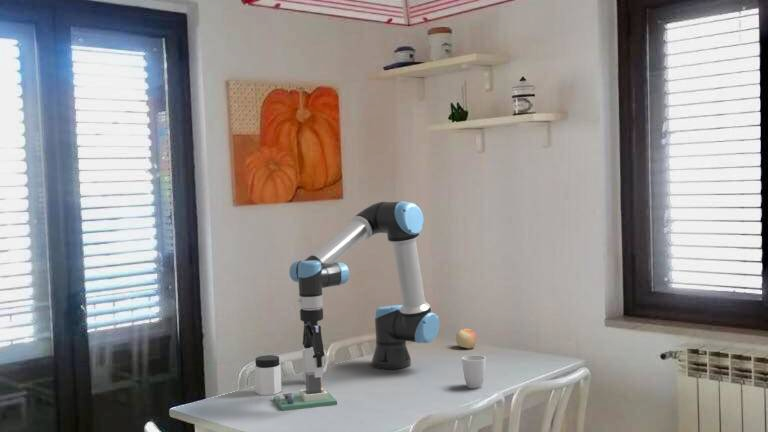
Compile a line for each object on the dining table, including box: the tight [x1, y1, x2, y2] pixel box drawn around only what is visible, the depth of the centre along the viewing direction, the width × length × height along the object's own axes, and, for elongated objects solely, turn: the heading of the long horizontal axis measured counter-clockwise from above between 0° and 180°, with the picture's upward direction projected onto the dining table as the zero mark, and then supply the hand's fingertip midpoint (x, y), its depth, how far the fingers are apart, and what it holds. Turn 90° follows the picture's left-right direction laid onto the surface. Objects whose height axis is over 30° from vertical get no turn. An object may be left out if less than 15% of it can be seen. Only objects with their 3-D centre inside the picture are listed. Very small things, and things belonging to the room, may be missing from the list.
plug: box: [305, 372, 323, 395], centre depth 268 cm, size 5×4×8 cm
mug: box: [302, 347, 329, 384], centre depth 294 cm, size 10×7×12 cm, turn 127°
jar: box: [254, 354, 282, 396], centre depth 280 cm, size 9×8×12 cm
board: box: [273, 386, 338, 412], centre depth 267 cm, size 18×14×4 cm
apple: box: [455, 328, 478, 349], centre depth 344 cm, size 9×9×8 cm
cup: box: [461, 354, 487, 389], centre depth 282 cm, size 8×8×10 cm
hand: (314, 372), depth 268 cm, fingers open, 13 cm apart
